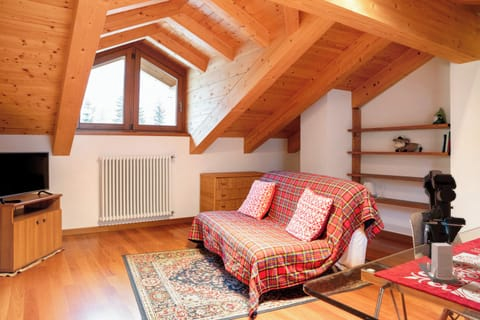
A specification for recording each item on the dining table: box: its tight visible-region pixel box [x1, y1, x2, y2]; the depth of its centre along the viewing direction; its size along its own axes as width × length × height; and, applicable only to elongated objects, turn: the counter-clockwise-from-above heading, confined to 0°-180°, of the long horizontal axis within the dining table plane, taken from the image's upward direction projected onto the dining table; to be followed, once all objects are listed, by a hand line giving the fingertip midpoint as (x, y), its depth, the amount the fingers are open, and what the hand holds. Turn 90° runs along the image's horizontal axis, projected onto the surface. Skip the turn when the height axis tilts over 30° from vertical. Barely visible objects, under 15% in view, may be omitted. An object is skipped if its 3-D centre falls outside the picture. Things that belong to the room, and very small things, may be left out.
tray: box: [417, 261, 460, 285], centre depth 136 cm, size 18×9×5 cm, turn 168°
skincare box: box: [430, 243, 454, 277], centre depth 132 cm, size 6×4×12 cm
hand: (443, 241), depth 140 cm, fingers open, 9 cm apart
